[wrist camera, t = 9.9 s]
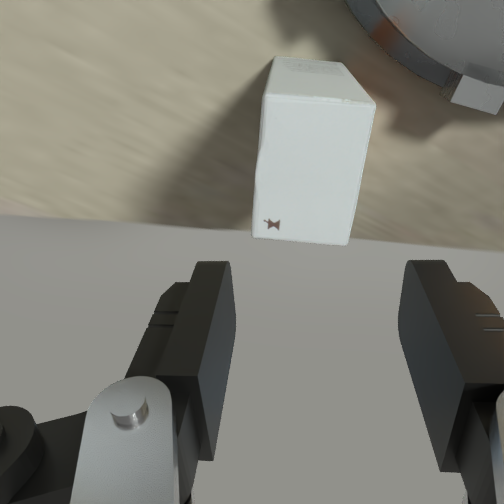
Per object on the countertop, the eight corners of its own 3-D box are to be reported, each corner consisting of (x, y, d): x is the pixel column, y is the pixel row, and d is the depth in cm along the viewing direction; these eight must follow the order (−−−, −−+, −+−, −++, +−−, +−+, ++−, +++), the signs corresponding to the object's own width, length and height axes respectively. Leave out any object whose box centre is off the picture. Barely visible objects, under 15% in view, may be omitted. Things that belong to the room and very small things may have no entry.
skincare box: (328, 158, 28) (348, 252, 18) (264, 152, 28) (247, 241, 18) (345, 58, 25) (381, 102, 15) (273, 52, 25) (257, 91, 15)
